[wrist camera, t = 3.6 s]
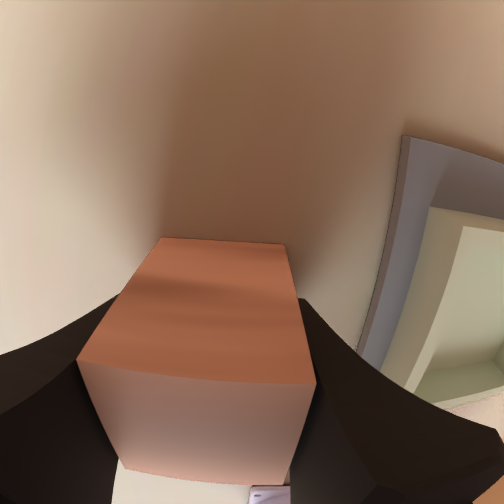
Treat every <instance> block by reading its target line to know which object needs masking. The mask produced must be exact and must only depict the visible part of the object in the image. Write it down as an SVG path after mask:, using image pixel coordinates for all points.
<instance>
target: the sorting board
mask: <svg viewBox="0 0 504 504" xmlns="http://www.w3.org/2000/svg"><path fill="white" fill-rule="evenodd" d="M356 353H357V354H358V355H359V356H361V357H362V358H363V359H364V360H365V361H366V362H368V363H369V364H370V365H371V366H373V367H374V368H375V369H377V370H378V371H379V372H381V373H382V374H383V375H385V376H386V377H387V378H389V379H390V380H392V381H393V382H395V383H396V384H398V385H399V386H401V387H403V388H404V389H406V390H408V391H409V392H411V393H413V394H414V395H416V396H418V397H419V398H421V399H423V400H425V401H427V402H429V403H431V404H433V405H434V406H437V407H439V408H441V409H446V408H450V407H455V406H459V405H463V404H467V403H470V402H474V401H478V400H481V399H485V398H488V397H492V396H495V395H498V394H501V393H504V164H503V163H500V162H498V161H495V160H492V159H489V158H486V157H483V156H480V155H477V154H473V153H470V152H467V151H464V150H460V149H457V148H454V147H450V146H446V145H443V144H439V143H435V142H431V141H428V140H424V139H419V138H415V137H411V136H403V135H402V144H401V152H400V161H399V168H398V175H397V182H396V188H395V195H394V201H393V206H392V212H391V217H390V223H389V228H388V233H387V238H386V243H385V247H384V252H383V256H382V261H381V265H380V269H379V273H378V277H377V281H376V285H375V289H374V293H373V297H372V301H371V304H370V308H369V311H368V315H367V318H366V322H365V325H364V328H363V332H362V335H361V338H360V341H359V345H358V348H357V351H356Z"/></svg>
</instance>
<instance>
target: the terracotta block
mask: <svg viewBox="0 0 504 504" xmlns="http://www.w3.org/2000/svg"><path fill="white" fill-rule="evenodd" d="M76 361H77V364H78V366H79V369H80V372H81V375H82V377H83V380H84V383H85V385H86V388H87V390H88V393H89V395H90V398H91V400H92V402H93V405H94V407H95V409H96V412H97V414H98V416H99V418H100V421H101V423H102V425H103V427H104V429H105V431H106V433H107V435H108V438H109V440H110V442H111V444H112V446H113V447H114V449H115V451H116V453H117V455H118V457H119V459H120V461H121V463H122V464H123V466H124V468H125V469H129V470H133V471H138V472H143V473H148V474H153V475H158V476H164V477H170V478H177V479H184V480H192V481H200V482H210V483H222V484H239V485H283V483H284V480H285V478H286V475H287V472H288V469H289V467H290V464H291V461H292V458H293V456H294V453H295V450H296V447H297V444H298V441H299V438H300V435H301V432H302V429H303V426H304V423H305V420H306V417H307V414H308V410H309V407H310V404H311V401H312V397H313V394H314V390H315V387H316V384H317V383H316V379H315V374H314V369H313V365H312V360H311V356H310V351H309V347H308V342H307V338H306V334H305V329H304V325H303V320H302V316H301V312H300V308H299V303H298V299H297V295H296V291H295V287H294V282H293V278H292V274H291V270H290V266H289V262H288V258H287V254H286V250H285V246H284V245H283V244H267V243H251V242H234V241H217V240H200V239H182V238H164V237H161V239H160V240H159V241H158V243H157V244H156V245H155V246H154V248H153V249H152V250H151V252H150V253H149V254H148V256H147V257H146V258H145V260H144V261H143V262H142V264H141V265H140V266H139V268H138V269H137V271H136V272H135V273H134V275H133V276H132V277H131V279H130V280H129V282H128V283H127V284H126V286H125V287H124V289H123V290H122V291H121V293H120V294H119V296H118V297H117V298H116V300H115V301H114V303H113V304H112V306H111V307H110V309H109V310H108V311H107V313H106V314H105V316H104V317H103V319H102V320H101V322H100V323H99V325H98V326H97V328H96V329H95V331H94V332H93V334H92V335H91V337H90V338H89V340H88V341H87V343H86V345H85V346H84V348H83V349H82V351H81V352H80V354H79V356H78V357H77V359H76Z"/></svg>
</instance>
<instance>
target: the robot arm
mask: <svg viewBox="0 0 504 504" xmlns="http://www.w3.org/2000/svg"><path fill="white" fill-rule="evenodd" d="M119 294H120V293H119ZM119 294H118V295H116V296H115V297H113V298H111V299H110V300H108V301H107V302H105V303H103V304H102V305H100V306H99V307H97V308H96V309H94V310H92V311H91V312H89V313H88V314H86V315H84V316H83V317H81V318H79V319H77V320H76V321H74V322H72V323H70V324H69V325H67V326H65V327H64V328H62V329H60V330H58V331H56V332H54V333H52V334H50V335H48V336H46V337H44V338H42V339H40V340H38V341H36V342H33V343H31V344H29V345H27V346H24V347H21V348H19V349H16V350H13V351H10V352H8V353H5V354H2V355H0V504H111V502H112V494H113V487H114V480H115V475H116V469H117V464H118V459H119V457H118V455H117V453H116V451H115V449H114V447H113V446H112V444H111V442H110V440H109V438H108V435H107V433H106V431H105V429H104V427H103V425H102V423H101V421H100V418H99V416H98V414H97V412H96V409H95V407H94V405H93V402H92V400H91V398H90V395H89V393H88V390H87V388H86V385H85V383H84V380H83V377H82V375H81V372H80V369H79V366H78V364H77V361H76V359H77V357H78V356H79V354H80V352H81V351H82V349H83V348H84V346H85V345H86V343H87V341H88V340H89V338H90V337H91V335H92V334H93V332H94V331H95V329H96V328H97V326H98V325H99V323H100V322H101V320H102V319H103V317H104V316H105V314H106V313H107V311H108V310H109V309H110V307H111V306H112V304H113V303H114V301H115V300H116V298H117V297H118V296H119ZM297 299H298V303H299V308H300V312H301V316H302V320H303V325H304V329H305V334H306V338H307V342H308V347H309V351H310V356H311V360H312V365H313V369H314V374H315V379H316V383H317V384H316V387H315V390H314V394H313V397H312V401H311V404H310V407H309V410H308V414H307V417H306V420H305V423H304V426H303V429H302V432H301V435H300V438H299V441H298V444H297V447H296V450H295V453H294V456H293V458H292V461H291V464H290V486H256V487H252V488H251V491H250V496H249V502H248V504H473V503H472V502H473V501H474V500H475V499H476V498H478V497H479V496H480V495H481V494H483V493H484V492H485V491H486V490H487V489H489V488H490V487H491V486H492V485H493V484H495V483H496V482H497V481H498V480H499V479H500V478H501V477H502V476H503V475H504V443H503V441H502V439H501V437H500V436H499V434H498V432H497V430H496V429H494V428H491V427H488V426H485V425H482V424H479V423H476V422H473V421H470V420H467V419H464V418H462V417H459V416H456V415H454V414H452V413H450V412H447V411H445V410H443V409H441V408H439V407H437V406H434V405H433V404H431V403H429V402H427V401H425V400H423V399H421V398H419V397H418V396H416V395H414V394H413V393H411V392H409V391H408V390H406V389H404V388H403V387H401V386H399V385H398V384H396V383H395V382H393V381H392V380H390V379H389V378H387V377H386V376H385V375H383V374H382V373H381V372H379V371H378V370H377V369H375V368H374V367H373V366H371V365H370V364H369V363H368V362H366V361H365V360H364V359H363V358H362V357H361V356H359V355H358V354H357V353H356V352H355V351H354V350H353V349H352V348H351V347H349V346H348V345H347V344H346V343H345V342H344V341H343V340H342V339H341V338H340V337H339V336H338V335H337V334H336V333H335V332H334V331H333V330H332V329H331V328H330V327H329V325H328V324H327V323H326V322H325V321H324V320H323V319H322V318H321V317H320V316H319V314H318V313H317V312H316V311H315V310H314V309H313V308H312V306H311V305H310V304H309V303H308V302H307V301H306V300H305V299H302V298H297Z"/></svg>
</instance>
